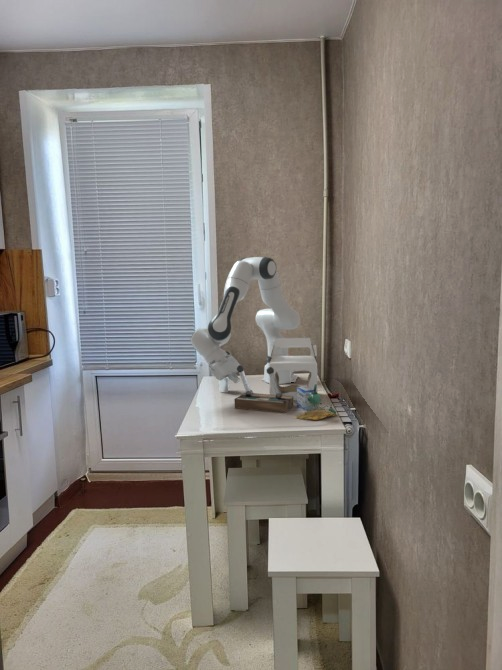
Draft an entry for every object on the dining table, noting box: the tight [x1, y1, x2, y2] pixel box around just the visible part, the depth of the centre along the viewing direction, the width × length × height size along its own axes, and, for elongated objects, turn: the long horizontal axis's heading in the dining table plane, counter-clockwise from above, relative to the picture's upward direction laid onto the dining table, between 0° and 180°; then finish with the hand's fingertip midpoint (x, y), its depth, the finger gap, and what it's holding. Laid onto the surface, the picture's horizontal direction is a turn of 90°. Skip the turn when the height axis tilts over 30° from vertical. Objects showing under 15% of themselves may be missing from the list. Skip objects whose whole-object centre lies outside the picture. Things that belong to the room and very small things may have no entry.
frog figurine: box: [295, 383, 338, 421], centre depth 193 cm, size 10×18×15 cm, turn 88°
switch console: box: [234, 392, 294, 414], centre depth 210 cm, size 12×24×4 cm, turn 68°
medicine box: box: [296, 385, 315, 412], centre depth 207 cm, size 8×4×9 cm, turn 22°
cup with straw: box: [217, 377, 231, 393], centre depth 238 cm, size 8×9×20 cm
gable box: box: [268, 337, 318, 401], centre depth 224 cm, size 22×13×28 cm, turn 85°
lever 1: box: [237, 364, 254, 397], centre depth 213 cm, size 3×3×14 cm
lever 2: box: [267, 367, 283, 399], centre depth 207 cm, size 3×3×14 cm
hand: (238, 381), depth 214 cm, fingers closed
